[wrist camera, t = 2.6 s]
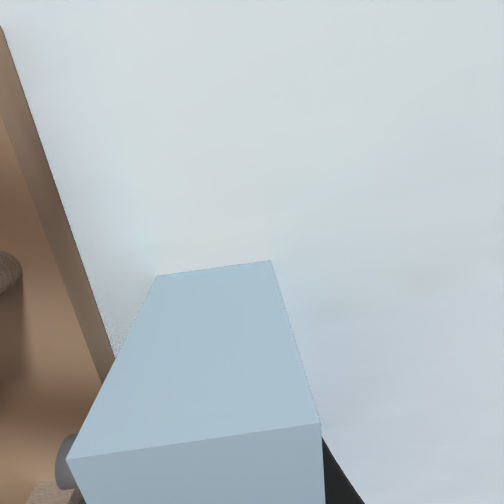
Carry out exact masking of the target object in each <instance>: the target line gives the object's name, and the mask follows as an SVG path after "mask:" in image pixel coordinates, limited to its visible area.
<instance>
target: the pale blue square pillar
mask: <svg viewBox="0 0 504 504" xmlns="http://www.w3.org/2000/svg"><path fill="white" fill-rule="evenodd" d="M55 480H56V484H57V486H58V487H59V488H60V489H61V490H68V489H75V488H79V489H80V491H81V493H82V495H83V497H84V500H85V502H86V504H325V487H324V470H323V452H322V435H321V422H320V419H319V415H318V412H317V409H316V406H315V402H314V399H313V396H312V393H311V389H310V386H309V383H308V380H307V376H306V373H305V370H304V367H303V363H302V360H301V357H300V354H299V350H298V347H297V344H296V341H295V337H294V334H293V331H292V328H291V324H290V321H289V318H288V315H287V311H286V308H285V305H284V302H283V298H282V295H281V292H280V289H279V285H278V282H277V279H276V276H275V272H274V269H273V266H272V263H271V260H268V261H261V262H254V263H246V264H239V265H232V266H224V267H217V268H210V269H202V270H195V271H188V272H180V273H173V274H166V275H158V276H157V277H156V279H155V281H154V283H153V285H152V287H151V289H150V291H149V293H148V295H147V297H146V299H145V301H144V303H143V305H142V307H141V309H140V311H139V313H138V315H137V317H136V319H135V321H134V323H133V325H132V327H131V329H130V331H129V333H128V335H127V337H126V339H125V341H124V343H123V345H122V347H121V349H120V351H119V353H118V355H117V357H116V359H115V361H114V363H113V365H112V367H111V369H110V371H109V373H108V375H107V377H106V379H105V381H104V383H103V385H102V387H101V389H100V391H99V393H98V395H97V397H96V399H95V401H94V403H93V405H92V407H91V409H90V411H89V413H88V415H87V417H86V419H85V421H84V423H83V425H82V427H81V429H80V431H79V433H76V434H70V435H68V436H67V437H66V438H65V439H64V441H63V442H62V444H61V446H60V448H59V450H58V453H57V457H56V462H55Z"/></svg>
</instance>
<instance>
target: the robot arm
mask: <svg viewBox="0 0 504 504" xmlns="http://www.w3.org/2000/svg"><path fill="white" fill-rule="evenodd" d="M322 452H323V470H324V487H325V504H365V503H364V502H363V500H362V499H361V498H360V496H359V495H358V494H357V492H356V491H355V489H354V488H353V486H352V485H351V483H350V482H349V480H348V479H347V477H346V476H345V474H344V473H343V471H342V470H341V468H340V466H339V465H338V463H337V462H336V460H335V459H334V457H333V455H332V454H331V452H330V450H329V448H328V447H327V445H326V443H325V441H324V440H323V438H322Z"/></svg>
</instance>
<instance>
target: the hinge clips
mask: <svg viewBox="0 0 504 504" xmlns="http://www.w3.org/2000/svg"><path fill="white" fill-rule="evenodd" d="M21 277H22V267H21V265H20V263H19V261H18V260H17V259H16V258H15V257H14V256H12V255H11V254H9V253H7V252H4V251H0V294H2V293H3V292H4V291H6V290H7V289H8V288H10V287H11V286H13V285H14V284H15V283H17V282H18V281H19V280H20V279H21ZM25 504H86V502H85V500H84V497H83V495H82V493H81V491H80V489H79V488H75V489H68V490H61V489H60V488H59V487H58V486H57V484H56V480H54V481H47V482H40V483H36V485H35V487H34V489H33V491H32V492H31V494H30V496H29V498H28V500H27V502H26V503H25Z"/></svg>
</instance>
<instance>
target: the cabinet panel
mask: <svg viewBox="0 0 504 504" xmlns="http://www.w3.org/2000/svg"><path fill="white" fill-rule="evenodd" d="M0 251H4V252H7V253H9V254H11V255H12V256H14V257H15V258H16V259H17V260H18V261H19V263H20V265H21V267H22V277H21V279H20V280H19V281H18V282H17V283H15V284H14V285H13V286H11V287H10V288H8V289H7V290H6V291H4V292H3V293H2V294H0V504H25V503H26V502H27V500H28V498H29V496H30V494H31V492H32V491H33V489H34V487H35V485H36V483H40V482H47V481H54V480H55V462H56V457H57V453H58V450H59V448H60V446H61V444H62V442H63V441H64V439H65V438H66V437H67V436H68V435H70V434H76V433H79V431H80V429H81V427H82V425H83V423H84V421H85V419H86V417H87V415H88V413H89V411H90V409H91V407H92V405H93V403H94V401H95V399H96V397H97V395H98V393H99V391H100V389H101V387H102V385H103V383H104V381H105V379H106V377H107V375H108V373H109V371H110V369H111V367H112V365H113V363H114V361H115V357H114V354H113V352H112V349H111V346H110V343H109V340H108V337H107V334H106V331H105V328H104V325H103V322H102V320H101V317H100V314H99V311H98V308H97V305H96V302H95V299H94V296H93V293H92V290H91V287H90V285H89V282H88V279H87V276H86V273H85V270H84V267H83V264H82V261H81V258H80V255H79V252H78V250H77V247H76V244H75V241H74V238H73V235H72V232H71V229H70V226H69V223H68V220H67V217H66V215H65V212H64V209H63V206H62V203H61V200H60V197H59V194H58V191H57V188H56V185H55V183H54V180H53V177H52V174H51V171H50V168H49V165H48V162H47V159H46V156H45V153H44V150H43V148H42V145H41V142H40V139H39V136H38V133H37V130H36V127H35V124H34V121H33V118H32V115H31V113H30V110H29V107H28V104H27V101H26V98H25V95H24V92H23V89H22V86H21V83H20V80H19V78H18V75H17V72H16V69H15V66H14V63H13V60H12V57H11V54H10V51H9V48H8V46H7V43H6V40H5V37H4V34H3V31H2V28H1V26H0Z"/></svg>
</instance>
